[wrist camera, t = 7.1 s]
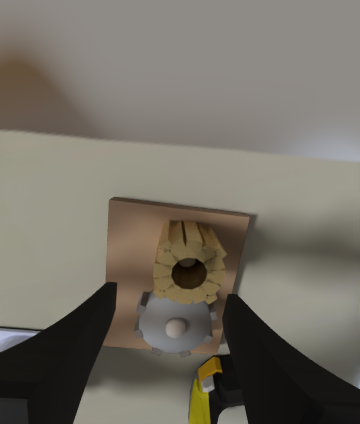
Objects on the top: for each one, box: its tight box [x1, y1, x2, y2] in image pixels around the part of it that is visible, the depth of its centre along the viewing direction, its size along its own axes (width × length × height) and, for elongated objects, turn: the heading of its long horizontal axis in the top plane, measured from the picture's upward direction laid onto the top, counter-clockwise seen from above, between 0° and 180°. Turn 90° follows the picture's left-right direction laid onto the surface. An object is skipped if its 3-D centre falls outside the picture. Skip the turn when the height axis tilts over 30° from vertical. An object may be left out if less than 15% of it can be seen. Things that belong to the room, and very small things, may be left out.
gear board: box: [103, 197, 250, 357], centre depth 21 cm, size 18×14×4 cm
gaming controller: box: [188, 355, 244, 424], centre depth 24 cm, size 15×6×10 cm
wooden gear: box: [153, 220, 227, 305], centre depth 17 cm, size 6×6×5 cm
